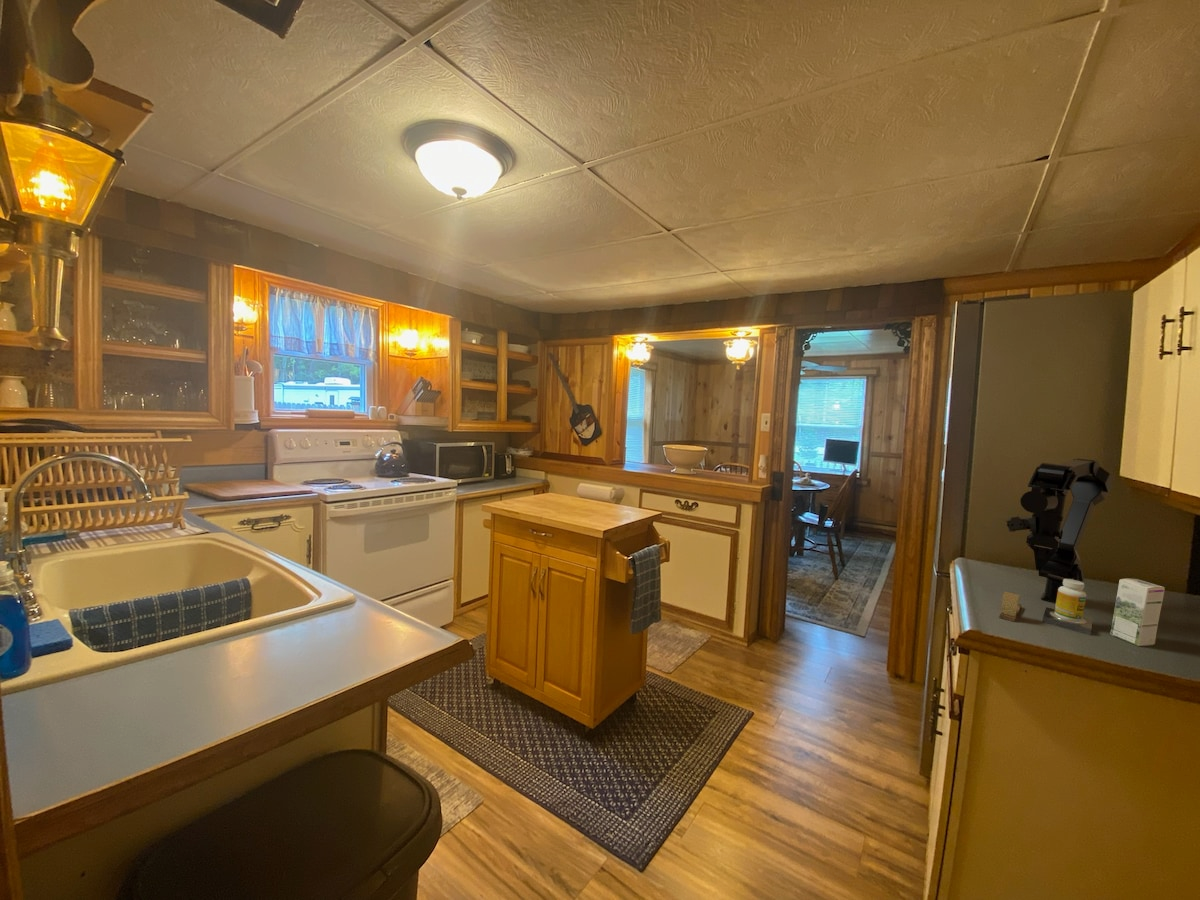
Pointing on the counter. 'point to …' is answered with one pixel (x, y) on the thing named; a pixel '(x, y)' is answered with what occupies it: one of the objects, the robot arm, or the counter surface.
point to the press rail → (1009, 615)
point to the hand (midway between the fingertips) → (1040, 566)
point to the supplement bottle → (1070, 600)
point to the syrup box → (1137, 611)
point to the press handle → (1010, 604)
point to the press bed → (1067, 622)
